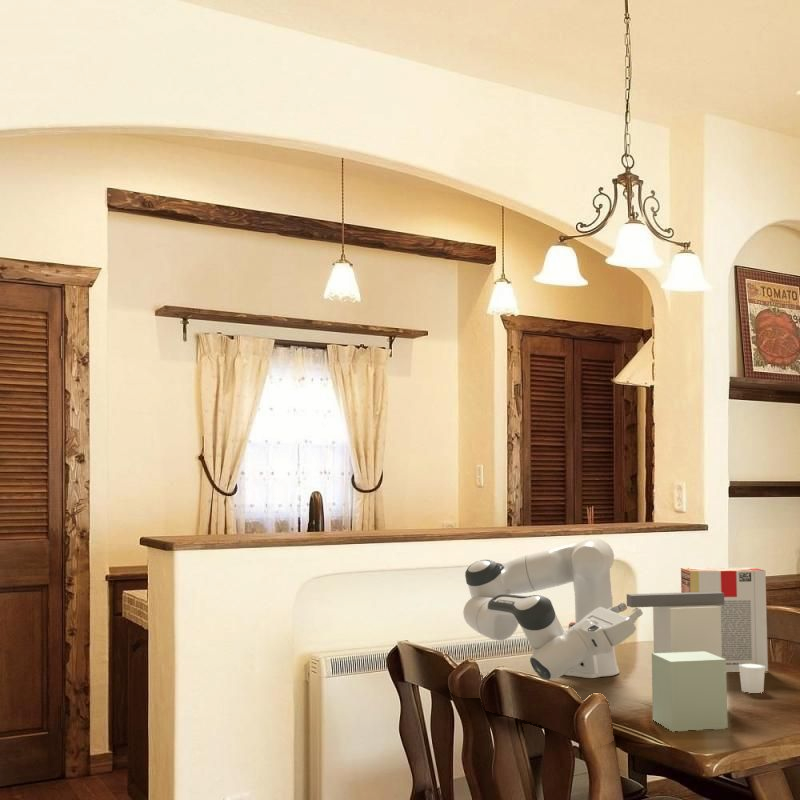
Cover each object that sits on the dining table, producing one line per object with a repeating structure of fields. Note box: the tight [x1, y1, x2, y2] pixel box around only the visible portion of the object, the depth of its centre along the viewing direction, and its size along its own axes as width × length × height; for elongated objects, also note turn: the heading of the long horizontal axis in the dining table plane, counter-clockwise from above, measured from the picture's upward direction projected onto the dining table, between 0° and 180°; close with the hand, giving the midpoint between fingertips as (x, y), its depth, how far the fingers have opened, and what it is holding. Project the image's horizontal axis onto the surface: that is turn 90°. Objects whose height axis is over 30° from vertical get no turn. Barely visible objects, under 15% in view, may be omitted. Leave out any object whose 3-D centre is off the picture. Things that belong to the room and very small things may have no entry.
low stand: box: [651, 651, 728, 733], centre depth 228 cm, size 14×10×16 cm
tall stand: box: [652, 605, 722, 658], centre depth 250 cm, size 14×10×25 cm
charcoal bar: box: [626, 592, 724, 608], centre depth 250 cm, size 26×3×3 cm, turn 101°
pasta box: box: [680, 567, 769, 672], centre depth 289 cm, size 23×8×30 cm, turn 93°
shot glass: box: [739, 663, 766, 694], centre depth 261 cm, size 7×7×7 cm
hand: (632, 607), depth 247 cm, fingers open, 8 cm apart
